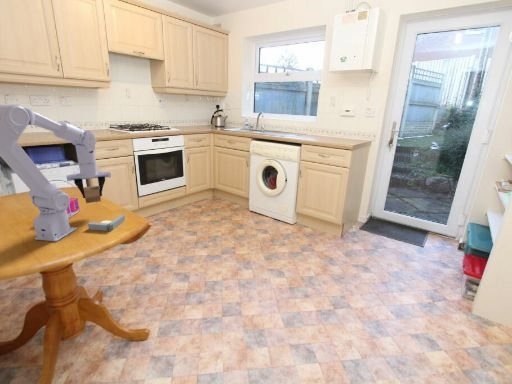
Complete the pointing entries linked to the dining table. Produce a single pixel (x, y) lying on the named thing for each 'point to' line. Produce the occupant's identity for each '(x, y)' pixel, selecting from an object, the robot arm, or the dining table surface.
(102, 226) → the grey flat angled piece
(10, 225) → the dining table surface
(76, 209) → the supplement box
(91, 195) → the walnut cube
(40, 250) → the dining table surface
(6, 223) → the dining table surface
